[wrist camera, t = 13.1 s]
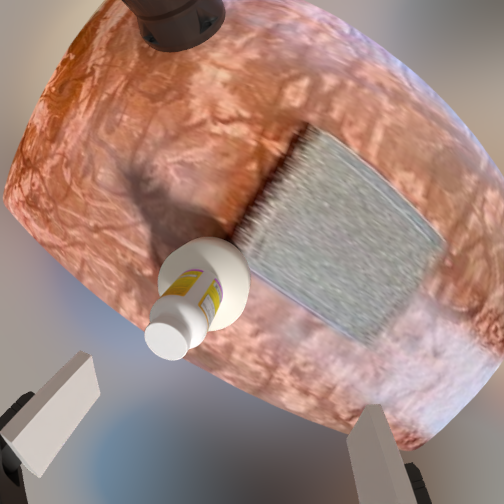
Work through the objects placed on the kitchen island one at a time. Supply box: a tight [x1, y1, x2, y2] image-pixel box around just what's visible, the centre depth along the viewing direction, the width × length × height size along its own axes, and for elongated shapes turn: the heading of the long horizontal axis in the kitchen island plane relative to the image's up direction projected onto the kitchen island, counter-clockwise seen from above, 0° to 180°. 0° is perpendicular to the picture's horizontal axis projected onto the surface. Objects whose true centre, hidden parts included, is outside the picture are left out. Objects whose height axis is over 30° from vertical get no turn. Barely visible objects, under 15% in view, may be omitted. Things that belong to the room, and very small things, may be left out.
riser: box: [158, 237, 251, 331], centre depth 40 cm, size 13×13×6 cm
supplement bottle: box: [145, 268, 223, 360], centre depth 31 cm, size 7×7×13 cm
